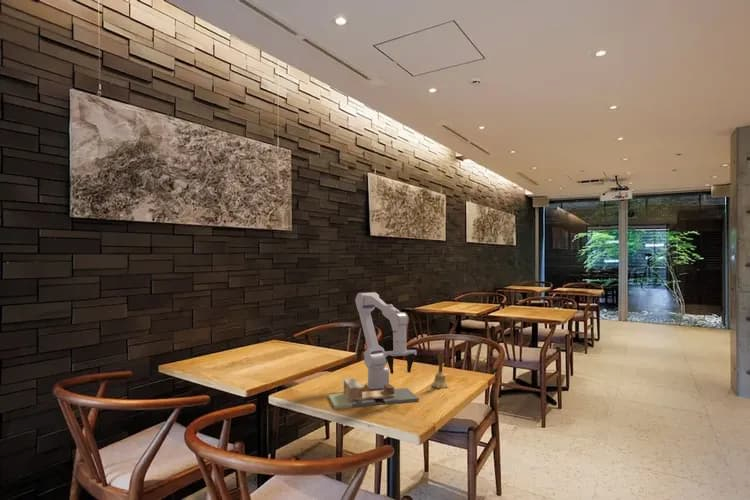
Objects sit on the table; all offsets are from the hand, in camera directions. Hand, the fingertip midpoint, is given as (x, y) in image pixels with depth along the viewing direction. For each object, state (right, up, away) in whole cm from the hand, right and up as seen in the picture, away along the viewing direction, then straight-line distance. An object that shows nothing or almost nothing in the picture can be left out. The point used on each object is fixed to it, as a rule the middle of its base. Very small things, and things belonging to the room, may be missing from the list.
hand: (400, 372), depth 183 cm
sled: (-13, -9, -3) cm, 16 cm away
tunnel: (-20, -9, -6) cm, 23 cm away
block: (-20, -8, -6) cm, 22 cm away
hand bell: (+20, -11, +17) cm, 29 cm away
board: (-12, -10, -3) cm, 16 cm away
